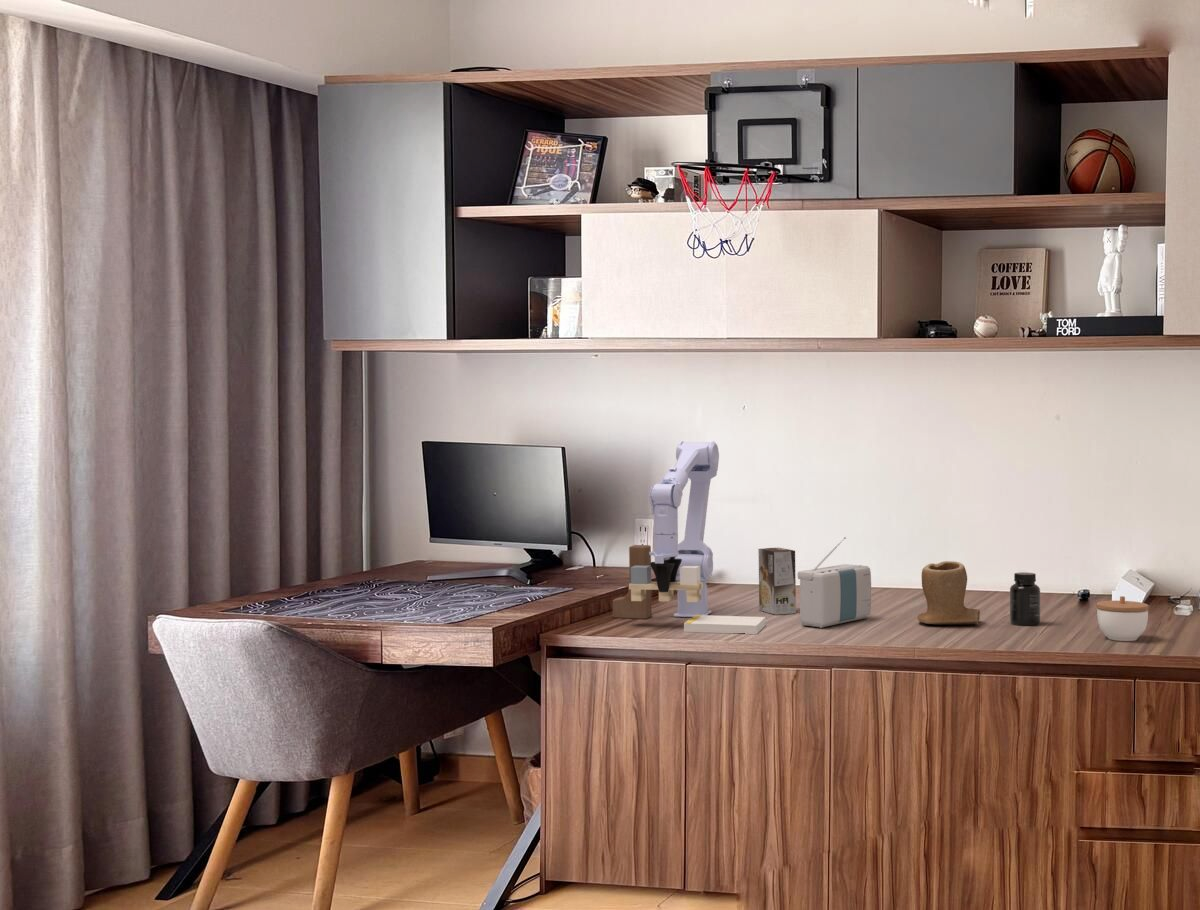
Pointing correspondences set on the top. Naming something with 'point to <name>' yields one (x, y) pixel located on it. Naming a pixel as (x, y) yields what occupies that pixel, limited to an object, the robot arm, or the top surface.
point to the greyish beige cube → (689, 575)
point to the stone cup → (946, 595)
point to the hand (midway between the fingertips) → (666, 590)
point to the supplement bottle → (1025, 600)
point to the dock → (724, 624)
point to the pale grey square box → (640, 574)
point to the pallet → (640, 592)
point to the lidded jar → (1122, 619)
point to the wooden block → (624, 604)
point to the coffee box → (777, 581)
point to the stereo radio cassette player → (834, 594)
